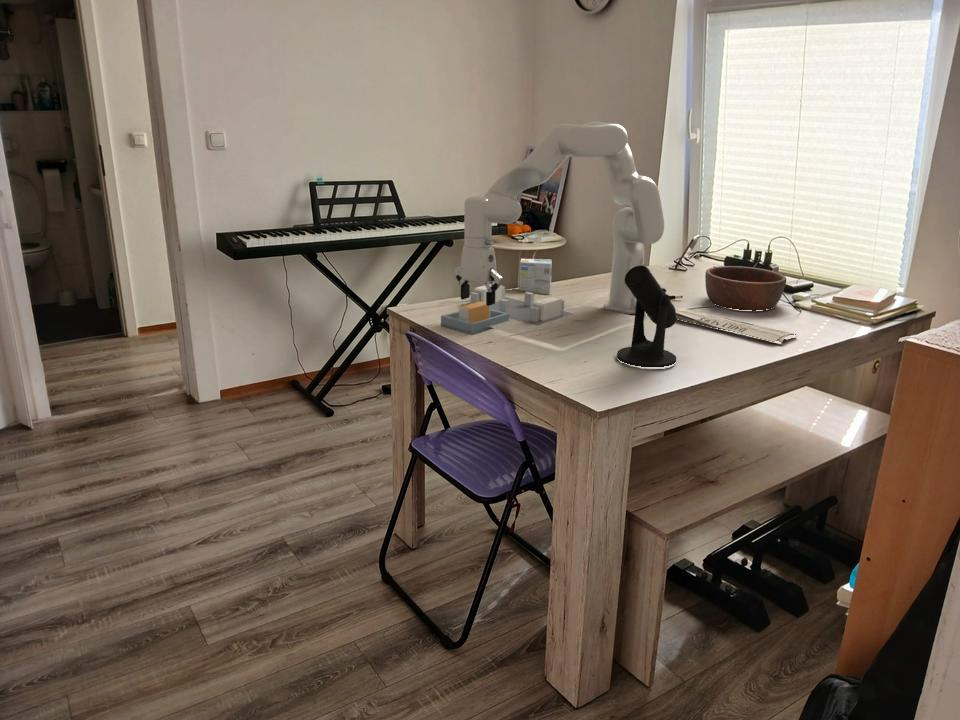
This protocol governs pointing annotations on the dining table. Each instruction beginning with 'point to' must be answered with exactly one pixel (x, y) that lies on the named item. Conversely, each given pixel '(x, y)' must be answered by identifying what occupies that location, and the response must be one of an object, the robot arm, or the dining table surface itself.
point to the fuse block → (519, 308)
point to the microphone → (659, 312)
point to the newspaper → (731, 325)
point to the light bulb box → (535, 276)
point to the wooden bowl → (744, 287)
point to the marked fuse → (474, 312)
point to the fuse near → (548, 307)
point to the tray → (476, 327)
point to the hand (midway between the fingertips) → (477, 301)
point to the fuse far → (483, 290)
